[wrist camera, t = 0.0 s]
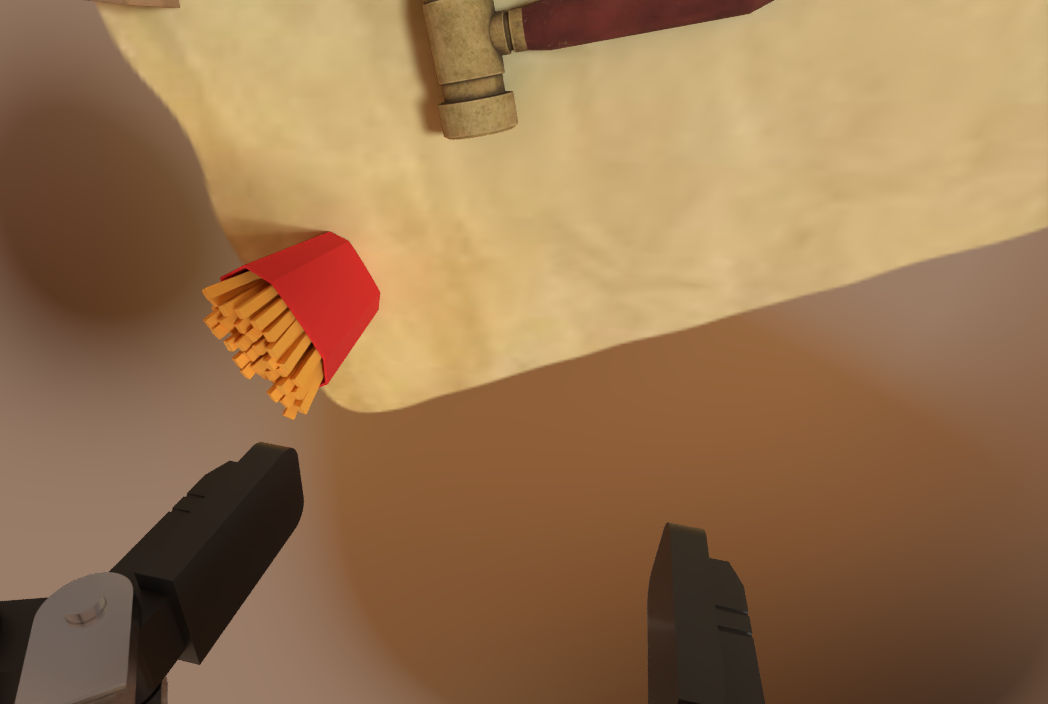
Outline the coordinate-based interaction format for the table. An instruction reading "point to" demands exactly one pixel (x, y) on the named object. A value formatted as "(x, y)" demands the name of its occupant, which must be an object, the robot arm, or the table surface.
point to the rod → (144, 2)
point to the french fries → (295, 315)
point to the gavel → (534, 45)
